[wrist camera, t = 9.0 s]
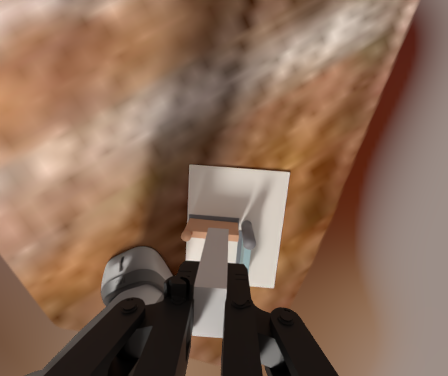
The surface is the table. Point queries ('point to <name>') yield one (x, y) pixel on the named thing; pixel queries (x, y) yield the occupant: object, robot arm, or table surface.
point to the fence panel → (200, 228)
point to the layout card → (241, 213)
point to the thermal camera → (124, 287)
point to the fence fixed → (247, 243)
